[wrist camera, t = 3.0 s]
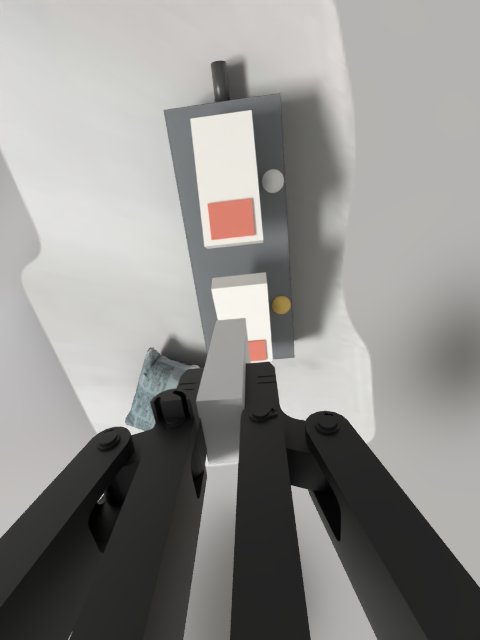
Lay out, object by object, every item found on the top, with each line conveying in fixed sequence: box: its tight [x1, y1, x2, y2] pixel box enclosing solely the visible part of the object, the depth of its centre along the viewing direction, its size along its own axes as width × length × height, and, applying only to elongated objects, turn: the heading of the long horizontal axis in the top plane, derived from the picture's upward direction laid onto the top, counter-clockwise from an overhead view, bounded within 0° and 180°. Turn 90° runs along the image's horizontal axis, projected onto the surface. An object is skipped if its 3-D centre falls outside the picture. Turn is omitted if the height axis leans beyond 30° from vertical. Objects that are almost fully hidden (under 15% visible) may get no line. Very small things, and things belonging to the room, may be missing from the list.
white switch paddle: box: [211, 272, 273, 363], centre depth 28 cm, size 9×4×2 cm, turn 6°
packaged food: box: [125, 348, 200, 431], centre depth 37 cm, size 9×12×5 cm
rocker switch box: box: [164, 61, 294, 359], centre depth 29 cm, size 26×9×5 cm, turn 7°
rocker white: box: [190, 110, 263, 249], centre depth 24 cm, size 9×4×2 cm, turn 7°
